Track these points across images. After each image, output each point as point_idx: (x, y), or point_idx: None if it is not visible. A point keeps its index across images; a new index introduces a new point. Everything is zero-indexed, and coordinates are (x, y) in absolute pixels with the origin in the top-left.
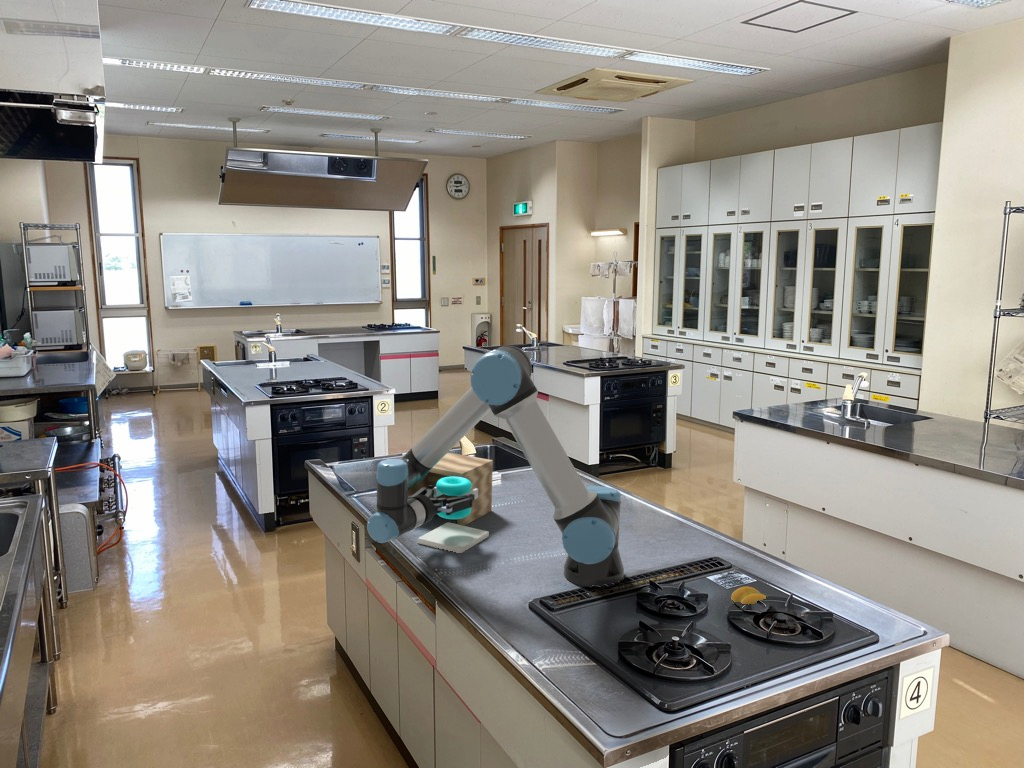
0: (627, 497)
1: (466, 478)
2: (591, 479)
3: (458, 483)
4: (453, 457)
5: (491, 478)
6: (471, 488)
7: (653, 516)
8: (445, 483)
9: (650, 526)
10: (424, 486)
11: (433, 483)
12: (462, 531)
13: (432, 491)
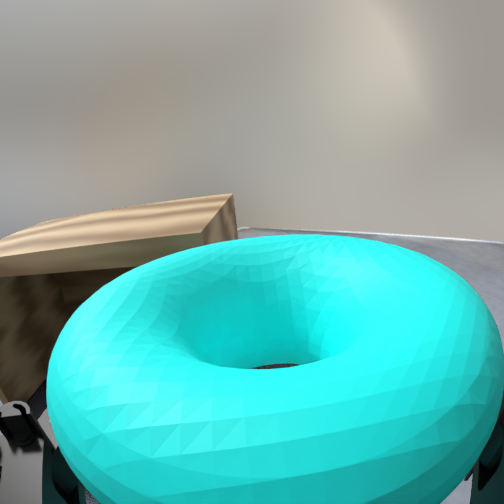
0: (389, 235)
1: None
2: (307, 229)
3: (284, 298)
4: (112, 213)
5: None
6: None
7: (464, 246)
8: (235, 416)
9: (495, 258)
10: (60, 317)
11: (78, 304)
12: None
13: (55, 461)
